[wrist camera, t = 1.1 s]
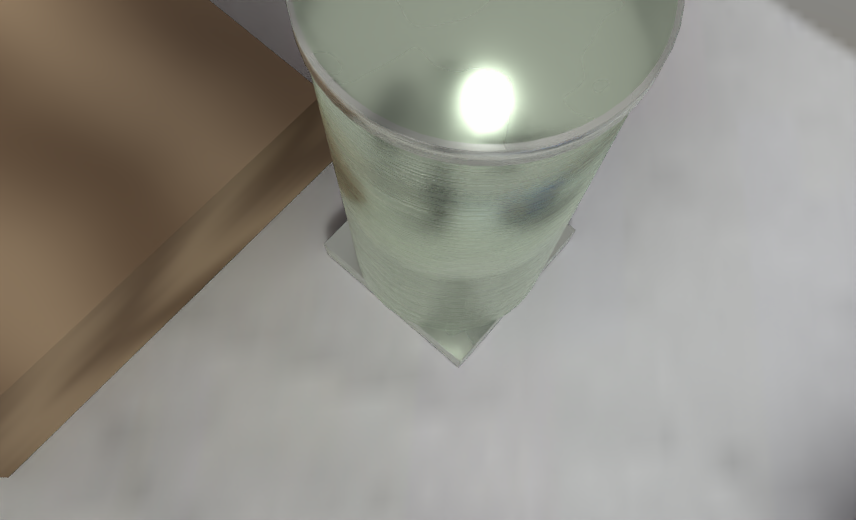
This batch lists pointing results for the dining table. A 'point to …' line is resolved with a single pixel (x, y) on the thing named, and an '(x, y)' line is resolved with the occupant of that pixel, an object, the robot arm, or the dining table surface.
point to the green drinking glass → (470, 139)
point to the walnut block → (128, 184)
